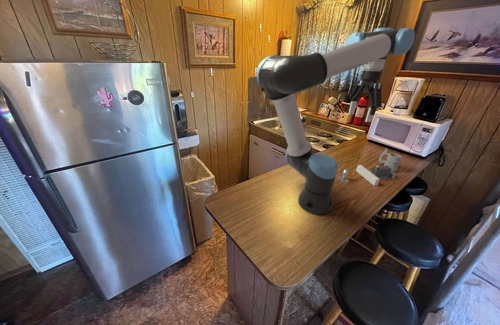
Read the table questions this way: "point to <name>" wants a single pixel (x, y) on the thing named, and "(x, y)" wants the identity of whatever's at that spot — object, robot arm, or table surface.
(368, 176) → the door edge
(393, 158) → the mug
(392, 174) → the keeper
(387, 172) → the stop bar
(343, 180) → the grey knobbed fixture
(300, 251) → the table surface
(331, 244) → the table surface
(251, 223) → the table surface
